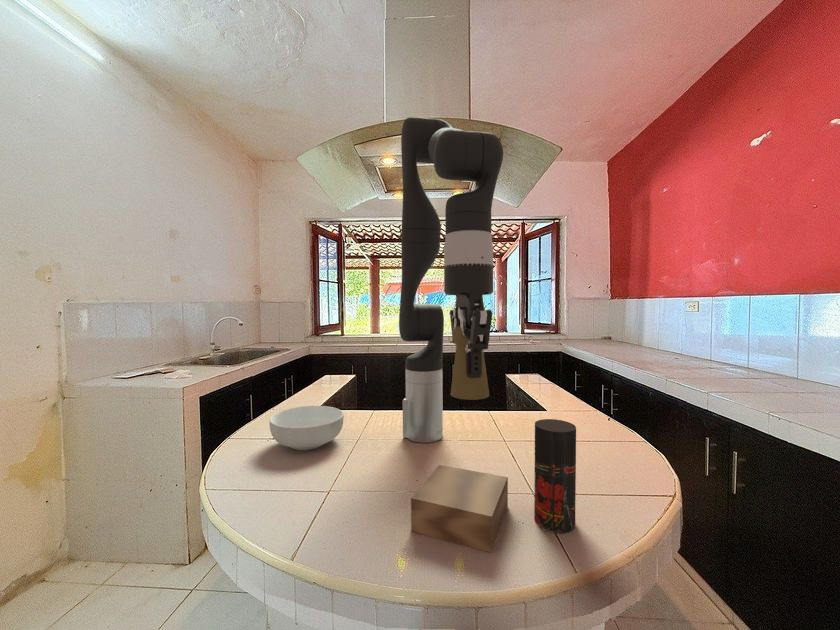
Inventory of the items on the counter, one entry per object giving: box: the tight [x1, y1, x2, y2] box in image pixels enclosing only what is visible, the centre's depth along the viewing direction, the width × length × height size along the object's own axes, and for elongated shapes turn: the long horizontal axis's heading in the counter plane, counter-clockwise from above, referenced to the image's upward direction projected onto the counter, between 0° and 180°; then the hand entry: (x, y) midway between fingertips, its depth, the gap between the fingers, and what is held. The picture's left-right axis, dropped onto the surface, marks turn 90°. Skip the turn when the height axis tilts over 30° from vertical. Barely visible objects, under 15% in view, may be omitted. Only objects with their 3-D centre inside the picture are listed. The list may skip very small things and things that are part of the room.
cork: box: [450, 325, 490, 401], centre depth 58 cm, size 6×6×11 cm
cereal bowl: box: [269, 405, 345, 451], centre depth 89 cm, size 17×17×7 cm
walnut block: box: [410, 464, 509, 553], centre depth 58 cm, size 12×12×5 cm
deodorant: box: [533, 418, 577, 534], centre depth 57 cm, size 6×6×15 cm
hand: (469, 374), depth 57 cm, fingers closed on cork, 4 cm apart
